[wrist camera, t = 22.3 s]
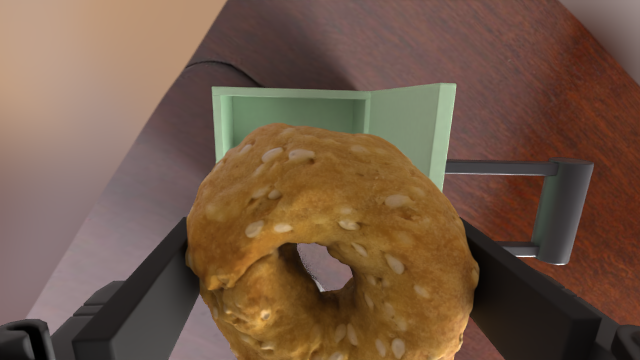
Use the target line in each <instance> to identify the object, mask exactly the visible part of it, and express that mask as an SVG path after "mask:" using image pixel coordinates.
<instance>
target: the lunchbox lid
mask: <svg viewBox="0 0 640 360" xmlns="http://www.w3.org/2000/svg"><path fill="white" fill-rule="evenodd" d="M455 91H456V84H455V83H436V84H428V85H419V86H411V87H403V88H394V89H386V90H378V91H371V100H370V115H369V130H368V134H372V135H375V136H379V137H381V138H383V139H385V140H386V141H388V142H390V143H391V144H393V145H395V146H396V147H397V148H398V149H399V150H400V151H401V152H402V153H403V154H404V155H405V156H407V157H408V158H409V159H411V161H412V164H413V165H415V166H416V167H417V169H419V170H420V171H421V172H422V173H423V174H425V175H426V176H427V177H428V178H430V179H431V180H432V182H433V183H434V184H435V185H436V186H437V187H438V188H439V190H440V191H441V192H442V187H443V180H444V174H490V175H540V176H545V179H544V183H543V188H542V192H541V197H540V201H539V206H538V210H537V215H536V219H535V224H534V228H533V233H532V237H531V242H505V241H494V242H496V243H497V244H499V245H500V246H501V247H503V248H504V249H506V250H507V251H509V252H510V253H511V254H513V255H514V256H525V257H534V258H536V259H538V260H541V261H544V262H547V263H551V264H557V265H564V264H567V263H568V262H569V258H570V255H571V251H572V247H573V243H574V239H575V236H576V232H577V228H578V224H579V220H580V216H581V213H582V209H583V205H584V201H585V197H586V194H587V190H588V186H589V182H590V178H591V174H592V171H593V167H594V163H593V162H590V161H586V160H581V159H574V158H563V157H552V158H549V161H548V162H545V161H499V160H453V159H446V158H447V150H448V143H449V136H450V128H451V121H452V113H453V106H454V99H455Z"/></svg>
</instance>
